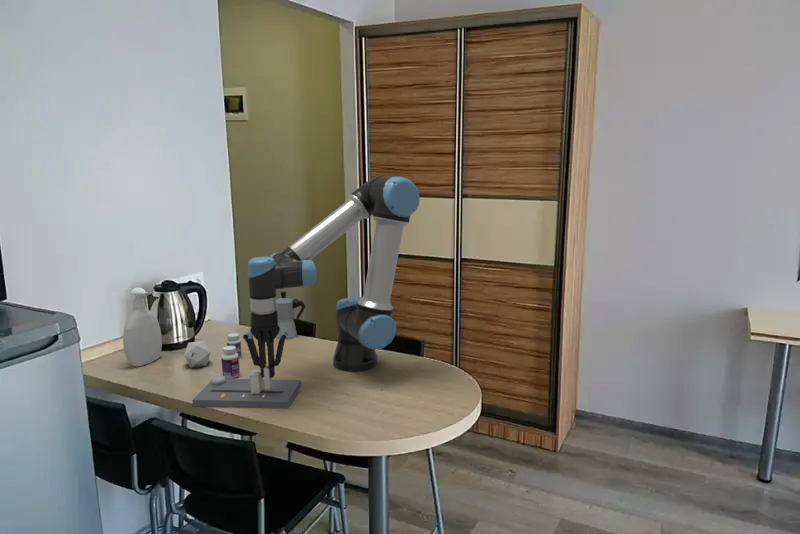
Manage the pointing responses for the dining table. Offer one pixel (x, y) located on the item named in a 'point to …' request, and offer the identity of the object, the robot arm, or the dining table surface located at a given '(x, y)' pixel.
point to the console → (246, 394)
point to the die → (197, 354)
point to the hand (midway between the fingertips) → (268, 387)
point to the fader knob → (256, 382)
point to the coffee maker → (288, 314)
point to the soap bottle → (141, 333)
